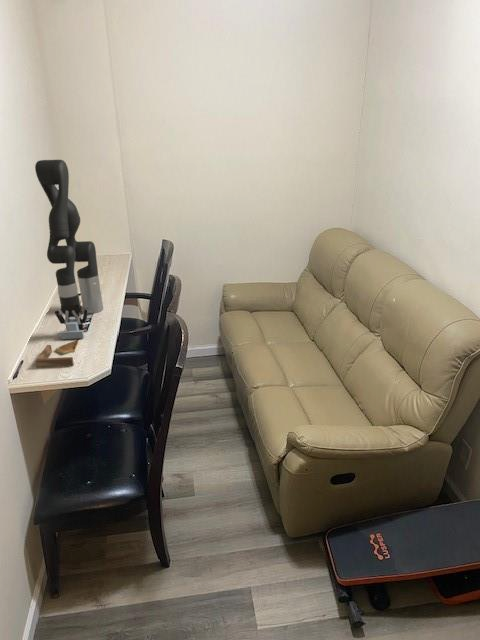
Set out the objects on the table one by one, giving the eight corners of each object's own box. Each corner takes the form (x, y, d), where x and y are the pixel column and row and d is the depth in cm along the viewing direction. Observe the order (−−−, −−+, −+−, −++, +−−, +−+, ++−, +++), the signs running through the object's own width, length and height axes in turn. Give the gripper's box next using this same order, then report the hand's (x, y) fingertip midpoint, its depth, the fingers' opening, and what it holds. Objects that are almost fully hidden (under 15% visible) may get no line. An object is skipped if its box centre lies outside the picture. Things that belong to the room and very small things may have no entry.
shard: (79, 342, 193) (78, 338, 193) (89, 347, 189) (89, 343, 188) (54, 351, 186) (54, 347, 185) (65, 357, 181) (64, 353, 180)
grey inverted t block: (67, 329, 203) (65, 317, 201) (88, 328, 203) (86, 316, 201) (61, 339, 194) (58, 326, 192) (83, 338, 195) (80, 324, 192)
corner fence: (48, 352, 185) (46, 345, 183) (81, 350, 185) (80, 343, 184) (37, 367, 173) (35, 360, 171) (72, 366, 173) (71, 358, 172)
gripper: (88, 289, 196) (94, 327, 203) (53, 291, 196) (61, 329, 202) (83, 295, 189) (90, 334, 196) (48, 297, 189) (55, 336, 195)
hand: (75, 331), depth 199 cm, fingers closed on grey inverted t block, 4 cm apart
